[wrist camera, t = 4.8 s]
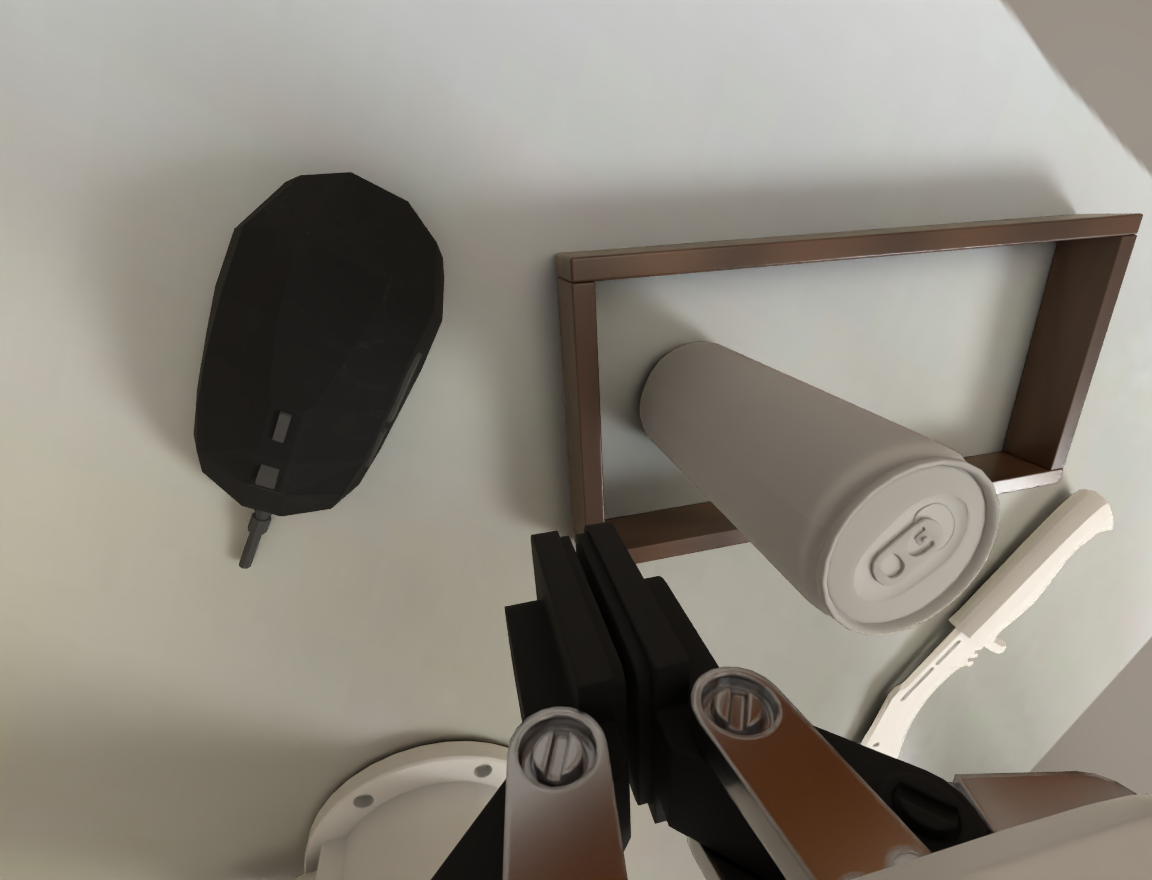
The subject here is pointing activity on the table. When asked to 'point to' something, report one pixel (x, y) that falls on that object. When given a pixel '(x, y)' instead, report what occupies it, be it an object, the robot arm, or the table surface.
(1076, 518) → the knife
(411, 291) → the gaming mouse
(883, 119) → the table surface
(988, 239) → the walnut frame
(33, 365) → the table surface
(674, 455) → the beverage can
